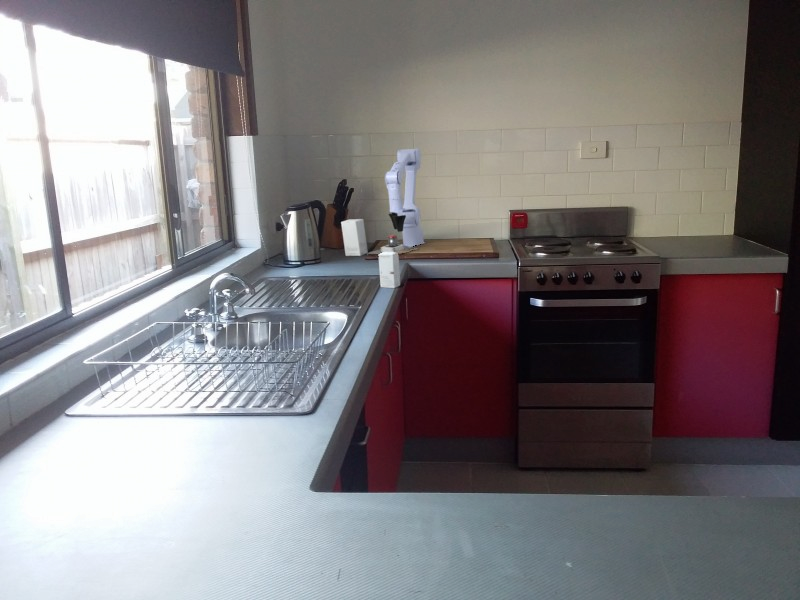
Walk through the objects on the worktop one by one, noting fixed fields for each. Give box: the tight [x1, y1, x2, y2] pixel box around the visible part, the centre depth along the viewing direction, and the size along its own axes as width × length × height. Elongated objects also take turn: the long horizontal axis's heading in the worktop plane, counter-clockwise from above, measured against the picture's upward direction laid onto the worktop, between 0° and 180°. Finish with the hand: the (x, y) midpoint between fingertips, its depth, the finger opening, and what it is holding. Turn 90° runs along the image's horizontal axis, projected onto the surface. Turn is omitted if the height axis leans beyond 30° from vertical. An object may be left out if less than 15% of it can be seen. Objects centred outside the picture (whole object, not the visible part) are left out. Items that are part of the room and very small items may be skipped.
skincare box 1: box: [340, 218, 369, 257], centre depth 308 cm, size 8×7×16 cm
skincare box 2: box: [378, 252, 401, 289], centre depth 244 cm, size 6×4×12 cm
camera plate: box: [366, 241, 419, 256], centre depth 307 cm, size 18×14×3 cm
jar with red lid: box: [387, 234, 399, 247], centre depth 305 cm, size 4×4×6 cm
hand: (398, 230), depth 303 cm, fingers open, 7 cm apart
